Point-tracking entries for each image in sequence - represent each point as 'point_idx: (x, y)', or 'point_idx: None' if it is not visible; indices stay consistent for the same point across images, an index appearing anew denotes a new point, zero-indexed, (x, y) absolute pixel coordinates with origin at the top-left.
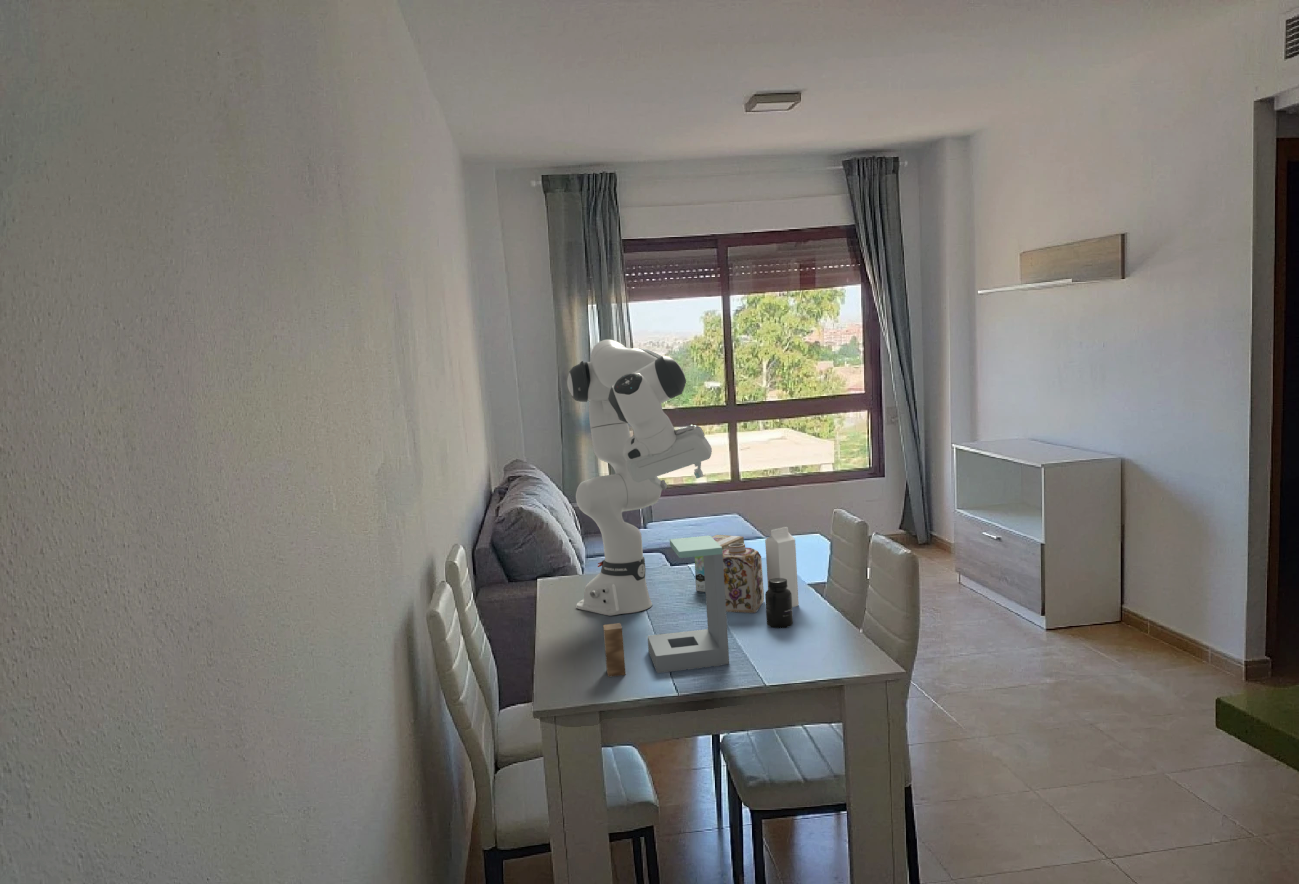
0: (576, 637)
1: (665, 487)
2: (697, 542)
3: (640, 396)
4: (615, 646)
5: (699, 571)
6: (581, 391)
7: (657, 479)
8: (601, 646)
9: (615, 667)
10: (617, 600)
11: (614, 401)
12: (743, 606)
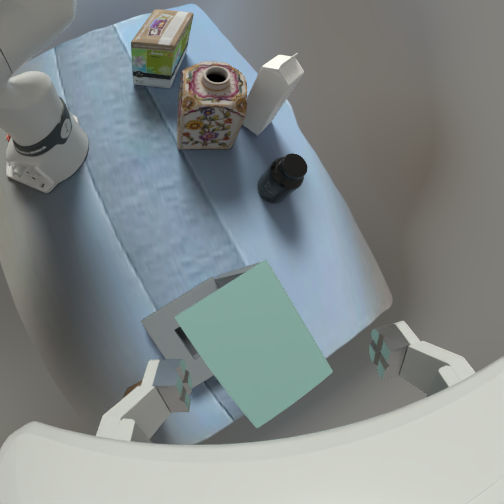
0: (37, 283)
1: (191, 391)
2: (264, 341)
3: None
4: None
5: (138, 68)
6: None
7: (144, 411)
8: (78, 311)
9: None
10: (48, 177)
11: None
12: (216, 144)
